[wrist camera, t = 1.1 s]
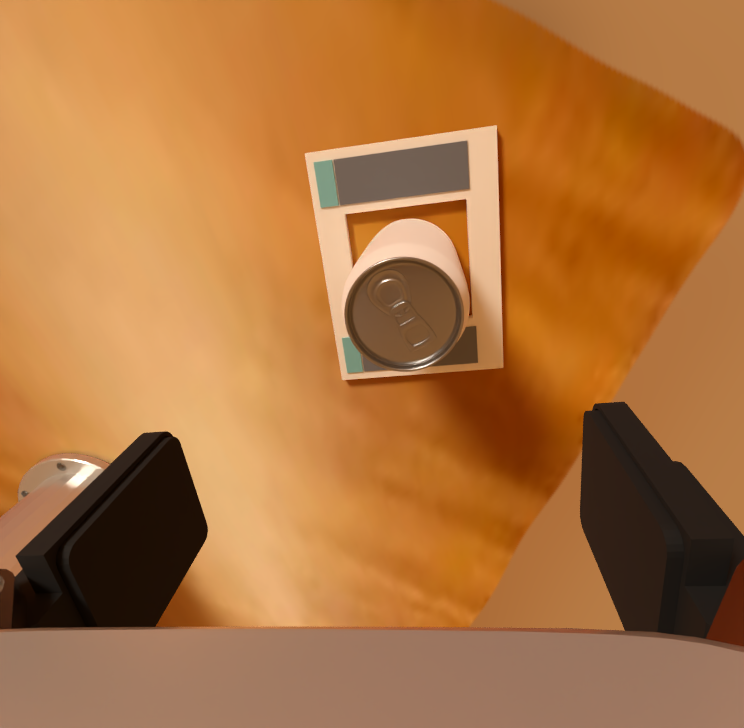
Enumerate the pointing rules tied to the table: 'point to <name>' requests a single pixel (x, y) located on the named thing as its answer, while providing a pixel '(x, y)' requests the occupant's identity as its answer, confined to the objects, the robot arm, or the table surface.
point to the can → (406, 297)
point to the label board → (408, 188)
